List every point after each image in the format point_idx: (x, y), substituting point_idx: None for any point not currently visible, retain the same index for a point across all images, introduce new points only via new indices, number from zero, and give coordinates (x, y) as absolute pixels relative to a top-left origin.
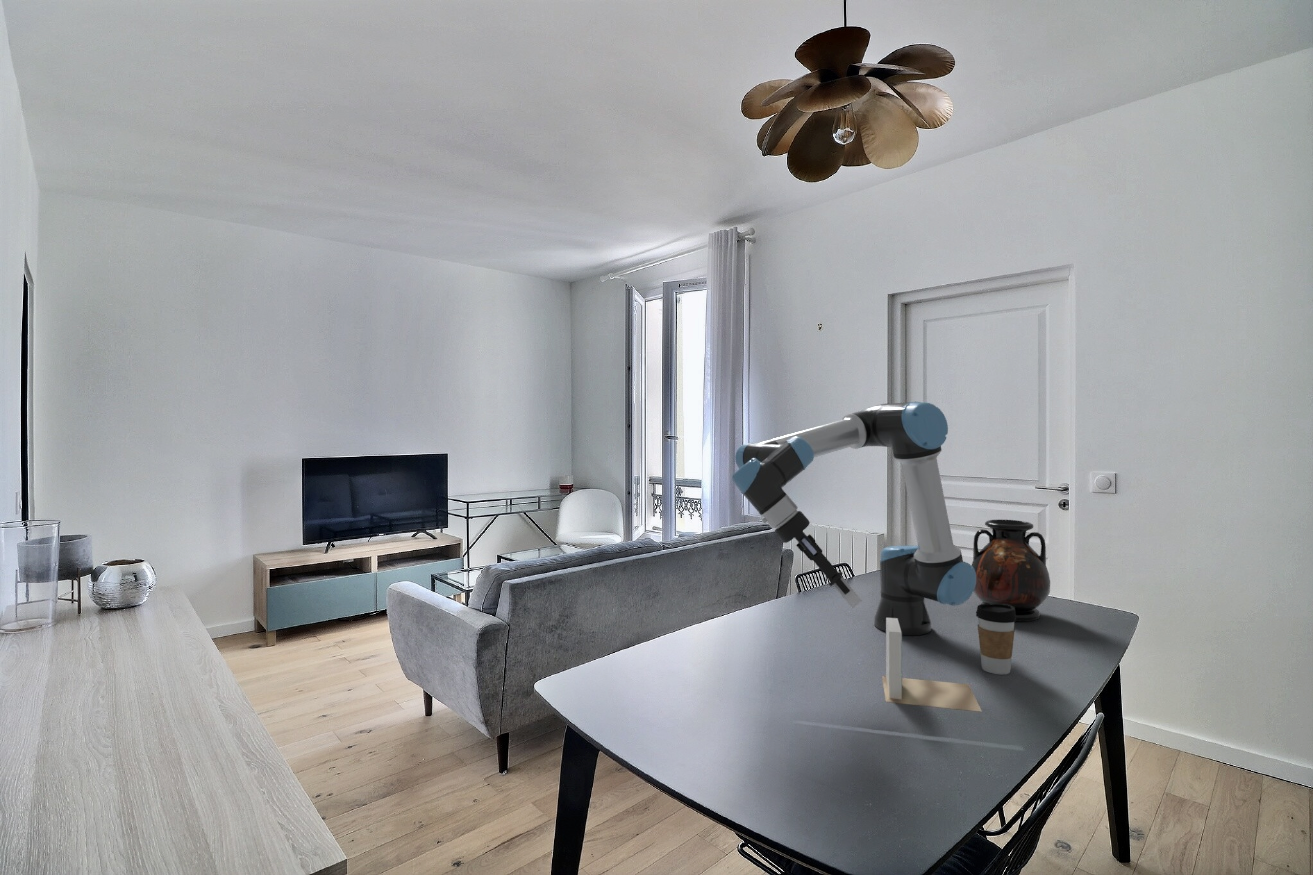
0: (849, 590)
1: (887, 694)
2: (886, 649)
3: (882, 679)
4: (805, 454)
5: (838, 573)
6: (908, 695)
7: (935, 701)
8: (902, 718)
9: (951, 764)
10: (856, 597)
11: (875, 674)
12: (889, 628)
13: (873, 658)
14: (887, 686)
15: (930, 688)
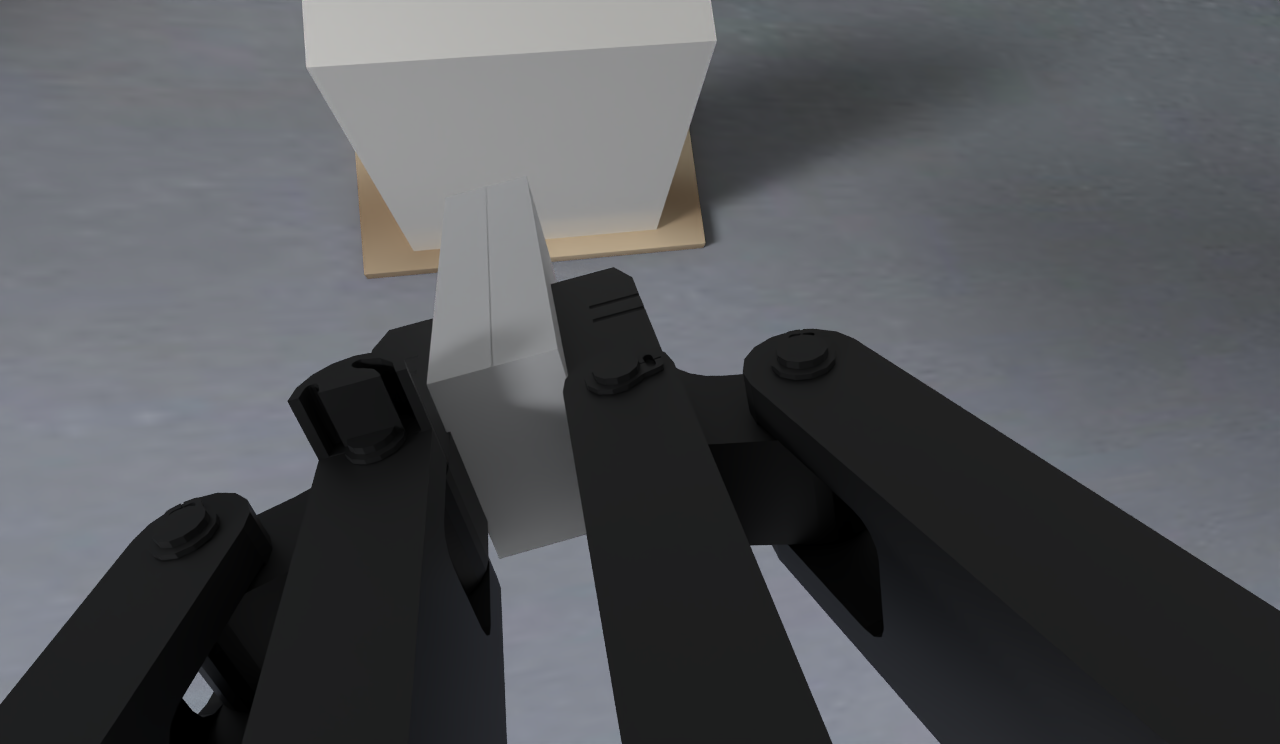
0: (623, 276)
1: (615, 238)
2: (409, 177)
3: (414, 269)
4: None
5: (880, 368)
6: None
7: None
8: (822, 177)
9: (1128, 21)
10: (539, 227)
11: (311, 314)
12: (635, 39)
13: (31, 341)
14: None
15: None
